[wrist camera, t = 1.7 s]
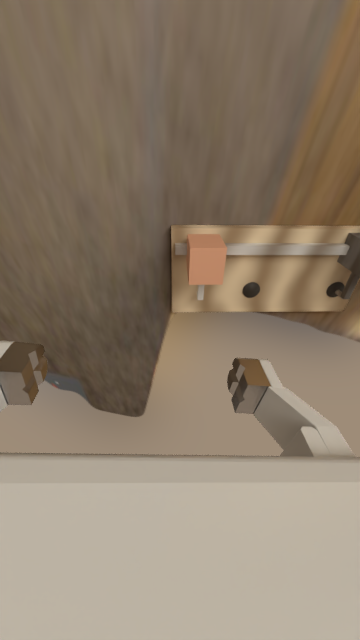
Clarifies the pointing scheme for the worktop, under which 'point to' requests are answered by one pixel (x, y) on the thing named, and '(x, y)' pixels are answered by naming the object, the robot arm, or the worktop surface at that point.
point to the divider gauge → (272, 268)
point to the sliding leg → (205, 260)
